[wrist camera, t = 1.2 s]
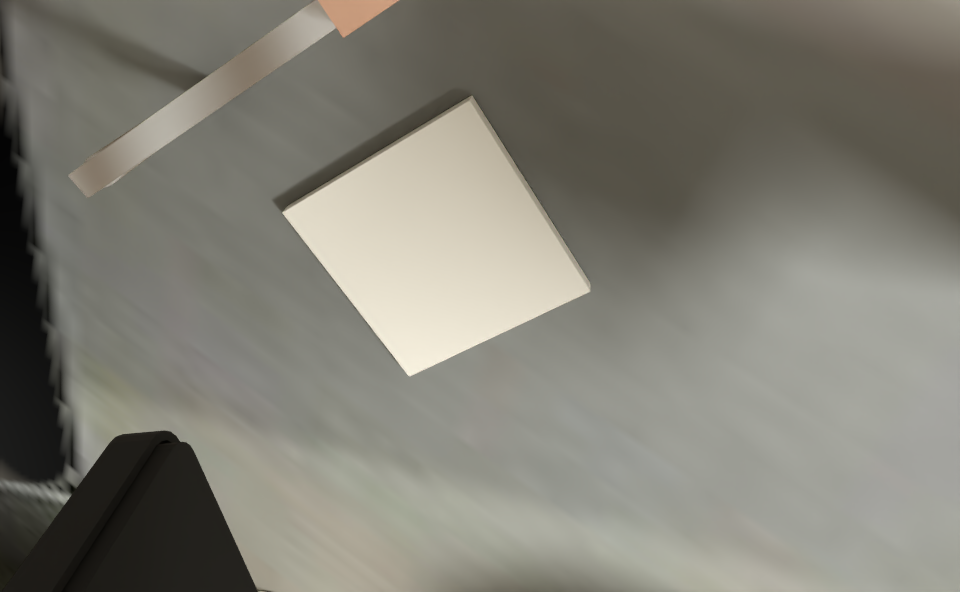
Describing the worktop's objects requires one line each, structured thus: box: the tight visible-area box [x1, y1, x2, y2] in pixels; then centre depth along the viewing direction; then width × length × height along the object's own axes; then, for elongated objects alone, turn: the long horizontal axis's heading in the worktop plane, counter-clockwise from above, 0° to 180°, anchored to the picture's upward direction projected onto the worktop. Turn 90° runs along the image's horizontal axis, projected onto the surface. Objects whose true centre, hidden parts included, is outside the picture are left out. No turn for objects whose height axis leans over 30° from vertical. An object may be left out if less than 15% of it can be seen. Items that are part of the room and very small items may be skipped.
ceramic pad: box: [282, 95, 590, 376], centre depth 40 cm, size 11×11×1 cm
